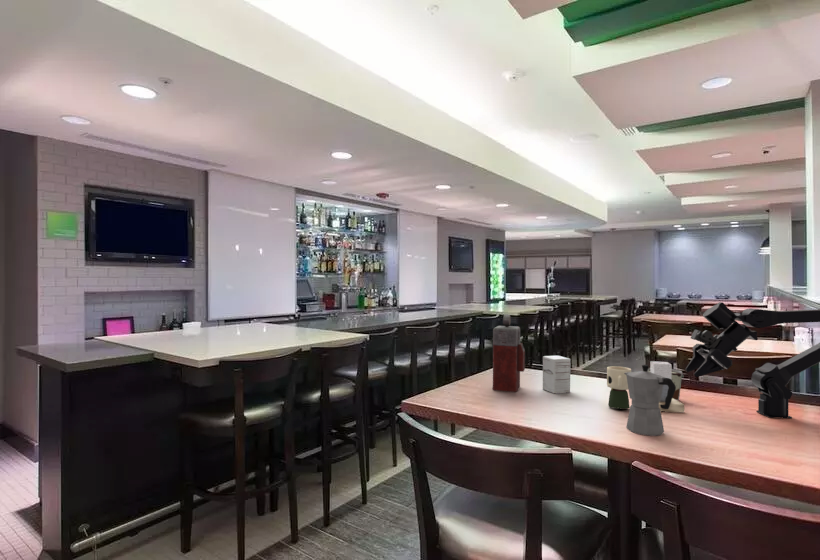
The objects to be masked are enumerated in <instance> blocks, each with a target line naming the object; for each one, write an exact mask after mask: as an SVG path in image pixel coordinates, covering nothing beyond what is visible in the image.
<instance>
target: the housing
mask: <svg viewBox="0 0 820 560" xmlns="http://www.w3.org/2000/svg"><path fill="white" fill-rule="evenodd" d="M649 362H650V365H649V366H650V367H649V368H650V372H651V373H654V374H657V375H660V376H663V377H665V378H670V379H671V380H672V369H673V367H672V365H673V364H671V363H670V362H668V361H657V360H656V361H655V360H651V361H649ZM668 389H669V387H668V385H663V390H662V396H661V401H660V402H665V399H666V397H667V392H668Z"/></svg>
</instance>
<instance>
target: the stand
mask: <svg viewBox="0 0 820 560" xmlns="http://www.w3.org/2000/svg"><path fill="white" fill-rule="evenodd" d="M660 405H665V402H659V408H660V411H665V412H664V413H685V403H682V402H681V401H680V400H675V399H673V398H672V401H671V404H670V407H669V409H663V408H661V407H660Z"/></svg>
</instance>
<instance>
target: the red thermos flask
mask: <svg viewBox="0 0 820 560" xmlns="http://www.w3.org/2000/svg"><path fill="white" fill-rule="evenodd" d="M511 318H512V317H511V315H510V314H503V319H502V324H503V325H497V326H496V327H494V328H493V329H492V391H498V392H499V391H500V392H509V393H510V392H511V393H517V392H519V389H520V388H521V372H522V373H523V372H524V371H525V368H526V367H525V365H526V363H525V361H526V359H525V357H526V351H525V347H524V344H523V342H521V327H520V326H517V325H516V326H515V325H514V326H513V325H511V321H512V320H511Z"/></svg>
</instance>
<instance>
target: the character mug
mask: <svg viewBox="0 0 820 560" xmlns="http://www.w3.org/2000/svg"><path fill="white" fill-rule="evenodd" d="M626 372H632V368H630V367H625V366H618V365H617V366H616V365H613V366H612V365H611V366H607V367H606V385H607V388H610V391H609V395H608V407H609V408H611V409H618V410H619V411H620V410H621V409H624V410H625V409H627V410H629V409H630V406H631V405H630V397H629V392H628V391H629V389H628V383H627V376H626V375H625V374H624V373H626ZM627 390H628V391H627Z"/></svg>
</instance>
